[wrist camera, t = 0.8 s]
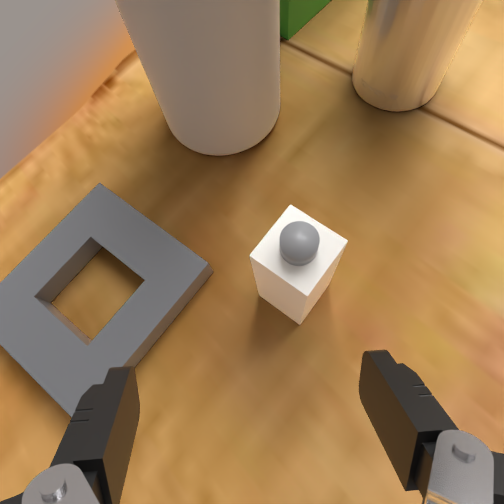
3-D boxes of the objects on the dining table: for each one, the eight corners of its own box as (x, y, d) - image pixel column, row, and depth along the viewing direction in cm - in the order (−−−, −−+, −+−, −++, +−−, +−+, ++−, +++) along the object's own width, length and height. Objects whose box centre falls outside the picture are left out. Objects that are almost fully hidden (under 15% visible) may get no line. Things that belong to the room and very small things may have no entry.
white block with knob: (288, 257, 35) (290, 193, 24) (328, 285, 34) (352, 231, 22) (258, 295, 34) (247, 246, 23) (300, 325, 33) (309, 290, 21)
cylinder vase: (239, 51, 44) (191, -328, 21) (303, 119, 40) (332, -260, 17) (148, 104, 43) (-15, -247, 19) (205, 180, 38) (87, -149, 15)
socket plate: (110, 195, 39) (99, 182, 36) (213, 271, 35) (208, 263, 32) (-10, 318, 35) (-31, 313, 33) (91, 419, 31) (76, 422, 29)
